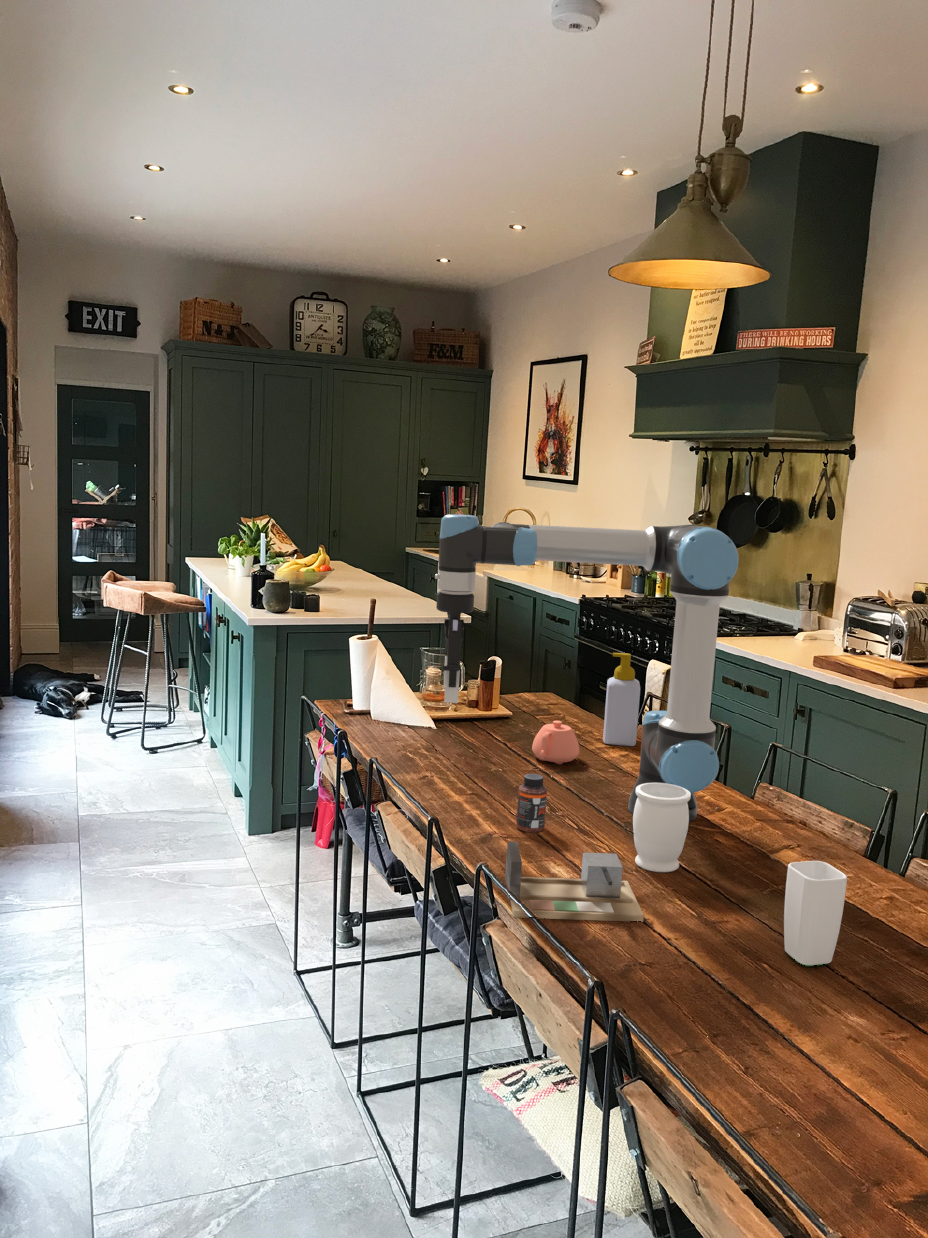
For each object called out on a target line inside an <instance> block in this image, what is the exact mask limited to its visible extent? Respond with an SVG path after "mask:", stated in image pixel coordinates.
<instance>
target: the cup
mask: <svg viewBox="0 0 928 1238" xmlns="http://www.w3.org/2000/svg"><path fill="white" fill-rule="evenodd" d="M785 881H786V882H785V893H784V895H785V896H784V911H783V913H784V914H783V937H784V938H783V939H784V941H783V942H784V951H785V952H786V953H787V955H789V957H791V958H792V959H793V960H794V959H795V962H797V963H798V964H799V963H800V964H799V965H801V964H802V965H801V966H804V965H805V966H804V967H814V965H817V966H823V964H825V965H828V964H830V963H831V962H832V961H833V957H834V953H835V949H836V948H837V947H836V946H837V942H838V938H839V934H840V929H841V924H842V918H843V912H844V905H845V899H846V893H847V892H846V891H847V884H848V883H847V882H848V876H847V875H846V874H845V873H843V872H842V871H840V870H839V869H837V868H836V867H835V866H833V865H831V864H829V863H828V862H825V861H822V860H821V861H820V860H807V861H806V860H805V861H794V862H789V864H787V872H786V880H785Z"/></svg>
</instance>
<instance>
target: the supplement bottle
mask: <svg viewBox="0 0 928 1238" xmlns="http://www.w3.org/2000/svg"><path fill="white" fill-rule="evenodd" d="M523 777H524V778H523V782H524V783H523V784H522V783H521V785H520V786H519V788H518V794H517V796H518V797H517V808H516V809H517V810H516V825H515V826H516V827H517V828H518V829H519V830H520V831H523V832H526V833H538V832H542V831H543V830H544V829H545V824H546V809H547V798H548V797H547V796H548V790H547V788H546V786H545V785H544V776H543V775H541V774H537V773H527V774H524V776H523Z"/></svg>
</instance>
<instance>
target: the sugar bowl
mask: <svg viewBox="0 0 928 1238" xmlns="http://www.w3.org/2000/svg"><path fill="white" fill-rule="evenodd" d="M531 749H532V752H533V754H534V755H535V757H536V758H537V759H538V760H539V761H545V762H549V763H550V762H551V763H555V764H556V765H563V764H564V763H568V762H572V761H574V760H575V759H576V758H578V756H579V755H580V745H579V741H578V738H577V736H576V734H575V732H574V730H573V729H572V727H571V726H569V725H567V724H563V721H561V720H553V721H552V723H547V724H544V725H542V727H541V728H540V729H539V731H538V733H537V734H536V735H535V736H534V739H533V742H532V747H531Z"/></svg>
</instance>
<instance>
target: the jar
mask: <svg viewBox="0 0 928 1238" xmlns="http://www.w3.org/2000/svg"><path fill="white" fill-rule="evenodd" d="M635 792H636V795H637V796H638V798H637V800H636V804H635V808H634V813H633V814H632V815H633V816H632V829H633V831H632V832H633V842H634V847H635V850H636V853H637V855H636V856H635V860H634V861H635V864H636V866H638V867H640V868H641V869H643V870H646V871H650V872H656V873H671V872H674V871H676V870H677V869H679V867H680V862H679V860H678V858H679V857H680V856H681V854H682V852H683V848H684V846H685V841H686V838H687V834H688V830H689V823H690V822H689V809H688V804H687V802H688V801H689V800H690V798H691V793H690V792H689V791H688V790H687V789H685V788H682V787H680V786H676V785H672V784H666V783H644V784H640V785H638V786H637V787H636V791H635Z"/></svg>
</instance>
